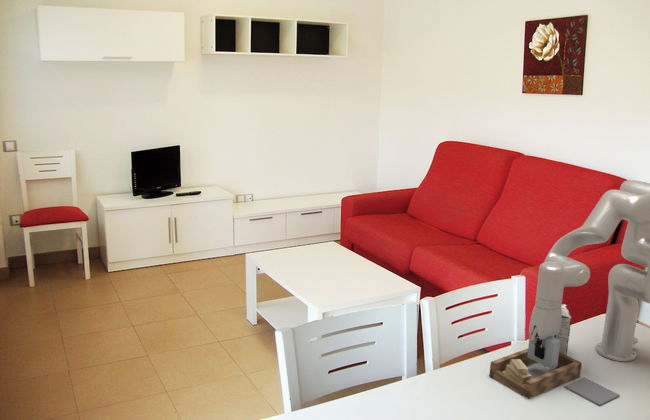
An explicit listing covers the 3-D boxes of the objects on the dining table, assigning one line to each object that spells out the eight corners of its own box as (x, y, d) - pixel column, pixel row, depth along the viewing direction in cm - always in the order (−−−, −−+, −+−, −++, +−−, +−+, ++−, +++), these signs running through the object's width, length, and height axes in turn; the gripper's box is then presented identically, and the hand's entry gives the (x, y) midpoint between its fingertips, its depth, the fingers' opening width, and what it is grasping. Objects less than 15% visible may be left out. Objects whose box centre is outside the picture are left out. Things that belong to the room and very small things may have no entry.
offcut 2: (513, 370, 195) (514, 363, 194) (530, 383, 187) (531, 375, 187) (505, 372, 193) (506, 365, 193) (522, 385, 186) (523, 377, 186)
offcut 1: (519, 364, 193) (520, 359, 193) (527, 374, 187) (528, 368, 187) (510, 365, 193) (510, 359, 192) (517, 375, 187) (518, 369, 186)
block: (533, 354, 200) (536, 329, 198) (557, 366, 193) (560, 340, 190) (527, 357, 198) (530, 331, 196) (551, 369, 191) (554, 342, 189)
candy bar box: (545, 346, 216) (551, 302, 212) (560, 347, 215) (566, 304, 211) (550, 361, 205) (556, 315, 201) (566, 363, 204) (572, 317, 200)
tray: (539, 356, 208) (541, 343, 207) (579, 377, 196) (581, 362, 195) (489, 376, 195) (490, 361, 194) (528, 399, 183) (530, 383, 181)
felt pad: (583, 378, 195) (584, 377, 195) (619, 396, 185) (619, 395, 185) (564, 387, 190) (564, 385, 189) (599, 406, 180) (599, 404, 180)
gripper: (555, 292, 198) (549, 344, 202) (521, 303, 189) (515, 357, 194) (575, 300, 192) (569, 353, 196) (541, 312, 183) (535, 368, 188)
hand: (542, 355), depth 195 cm, fingers closed on block, 3 cm apart
